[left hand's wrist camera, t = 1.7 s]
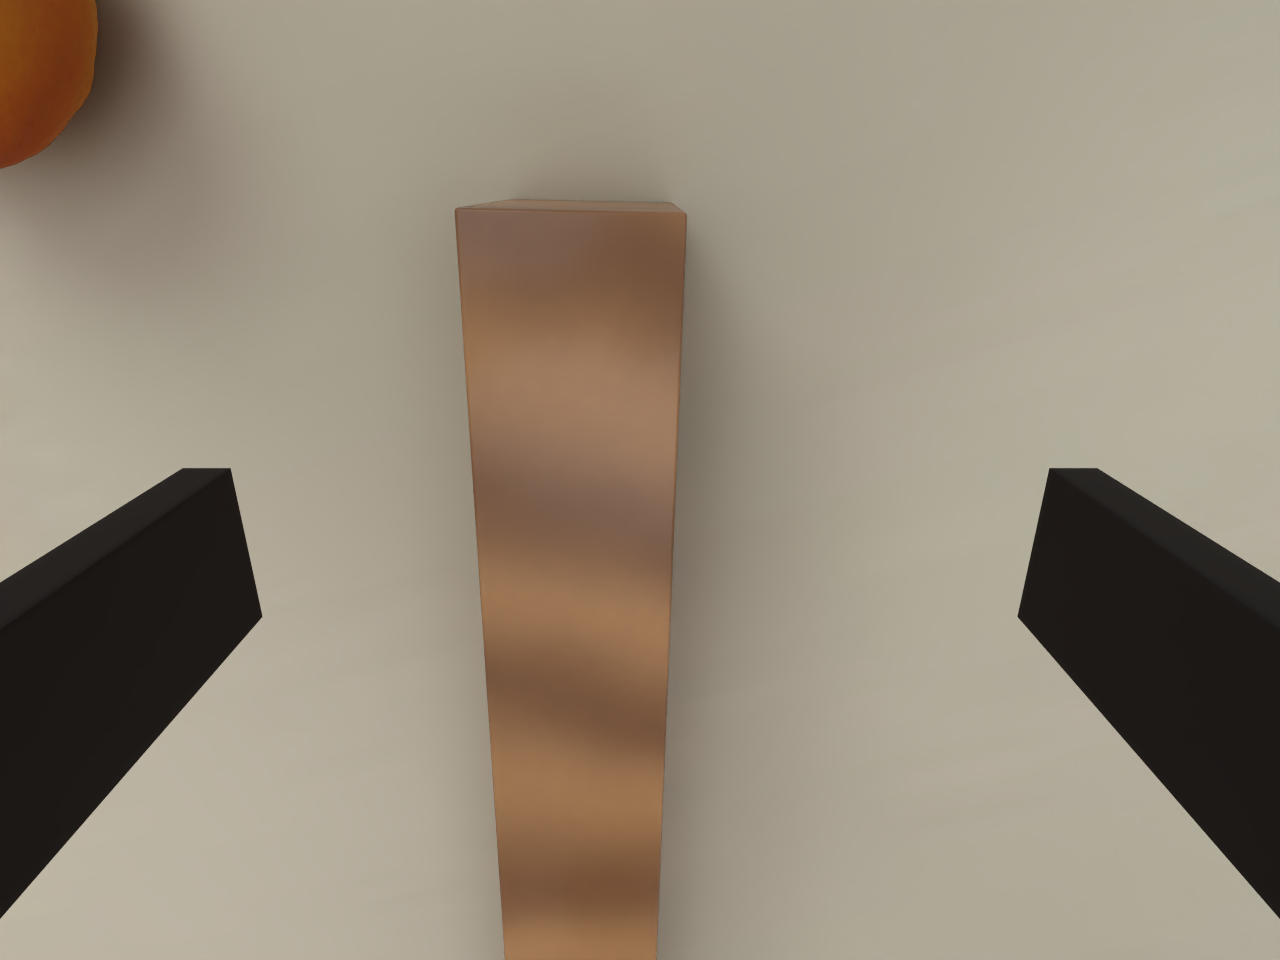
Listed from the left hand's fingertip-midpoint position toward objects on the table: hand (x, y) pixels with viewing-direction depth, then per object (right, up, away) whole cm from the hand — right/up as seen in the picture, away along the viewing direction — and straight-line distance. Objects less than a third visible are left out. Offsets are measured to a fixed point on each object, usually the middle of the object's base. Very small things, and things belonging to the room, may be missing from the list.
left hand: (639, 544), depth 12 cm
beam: (-2, -20, +23) cm, 30 cm away
